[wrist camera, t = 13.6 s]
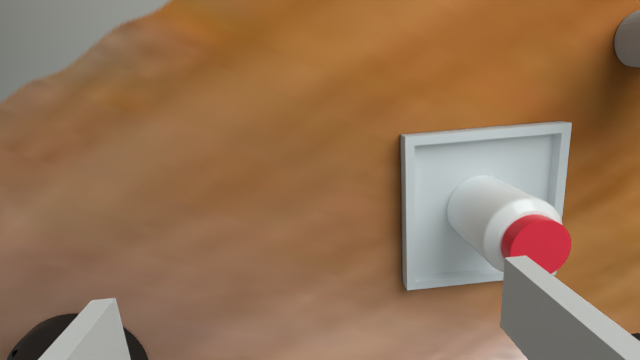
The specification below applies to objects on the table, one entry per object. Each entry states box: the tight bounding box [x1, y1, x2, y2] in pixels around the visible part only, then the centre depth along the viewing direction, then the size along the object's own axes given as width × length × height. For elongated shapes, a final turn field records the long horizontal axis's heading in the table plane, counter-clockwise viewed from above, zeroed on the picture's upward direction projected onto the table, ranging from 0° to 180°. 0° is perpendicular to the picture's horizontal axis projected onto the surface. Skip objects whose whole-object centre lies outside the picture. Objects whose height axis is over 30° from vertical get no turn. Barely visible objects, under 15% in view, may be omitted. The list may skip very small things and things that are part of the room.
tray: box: [400, 121, 572, 290], centre depth 43 cm, size 18×18×2 cm
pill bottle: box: [447, 175, 571, 274], centre depth 38 cm, size 8×8×11 cm
